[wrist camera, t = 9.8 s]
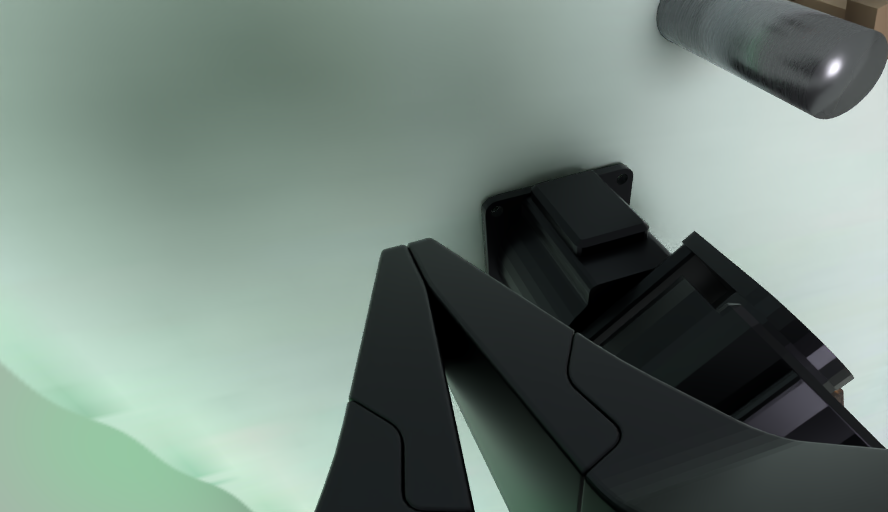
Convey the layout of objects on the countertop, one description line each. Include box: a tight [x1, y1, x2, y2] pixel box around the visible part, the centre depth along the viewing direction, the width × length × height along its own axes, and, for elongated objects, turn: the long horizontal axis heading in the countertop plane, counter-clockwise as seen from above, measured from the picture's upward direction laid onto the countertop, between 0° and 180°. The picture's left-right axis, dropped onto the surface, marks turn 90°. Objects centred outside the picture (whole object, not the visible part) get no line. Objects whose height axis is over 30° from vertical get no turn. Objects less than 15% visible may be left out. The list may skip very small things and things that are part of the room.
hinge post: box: [657, 0, 888, 119], centre depth 18 cm, size 2×2×7 cm
